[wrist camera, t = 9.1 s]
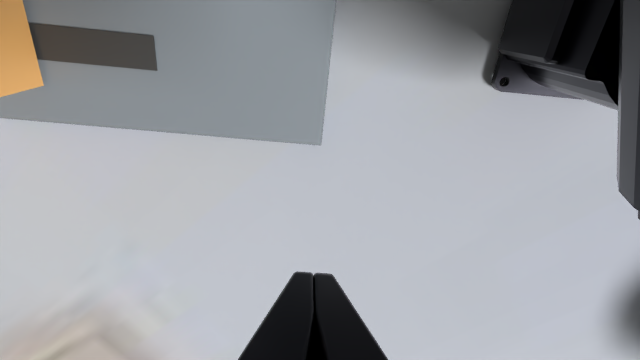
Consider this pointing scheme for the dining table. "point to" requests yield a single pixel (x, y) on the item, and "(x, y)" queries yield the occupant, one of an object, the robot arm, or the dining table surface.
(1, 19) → the slider knob
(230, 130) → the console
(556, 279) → the dining table surface
